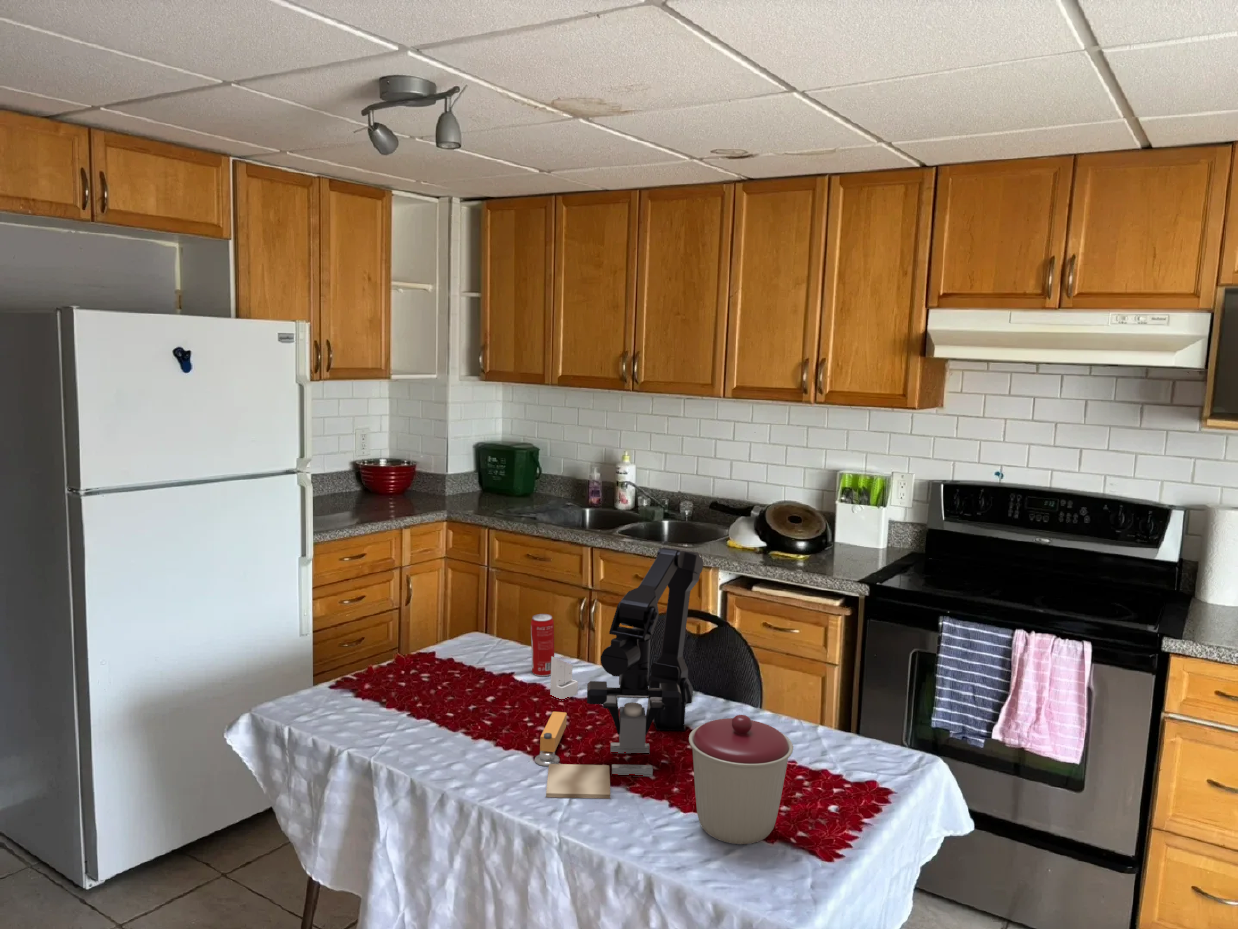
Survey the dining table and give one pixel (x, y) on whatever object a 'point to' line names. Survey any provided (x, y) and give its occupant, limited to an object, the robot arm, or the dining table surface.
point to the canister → (738, 777)
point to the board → (578, 781)
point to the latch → (553, 732)
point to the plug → (632, 726)
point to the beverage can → (542, 644)
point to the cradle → (645, 770)
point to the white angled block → (562, 679)
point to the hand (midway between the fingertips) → (631, 734)
